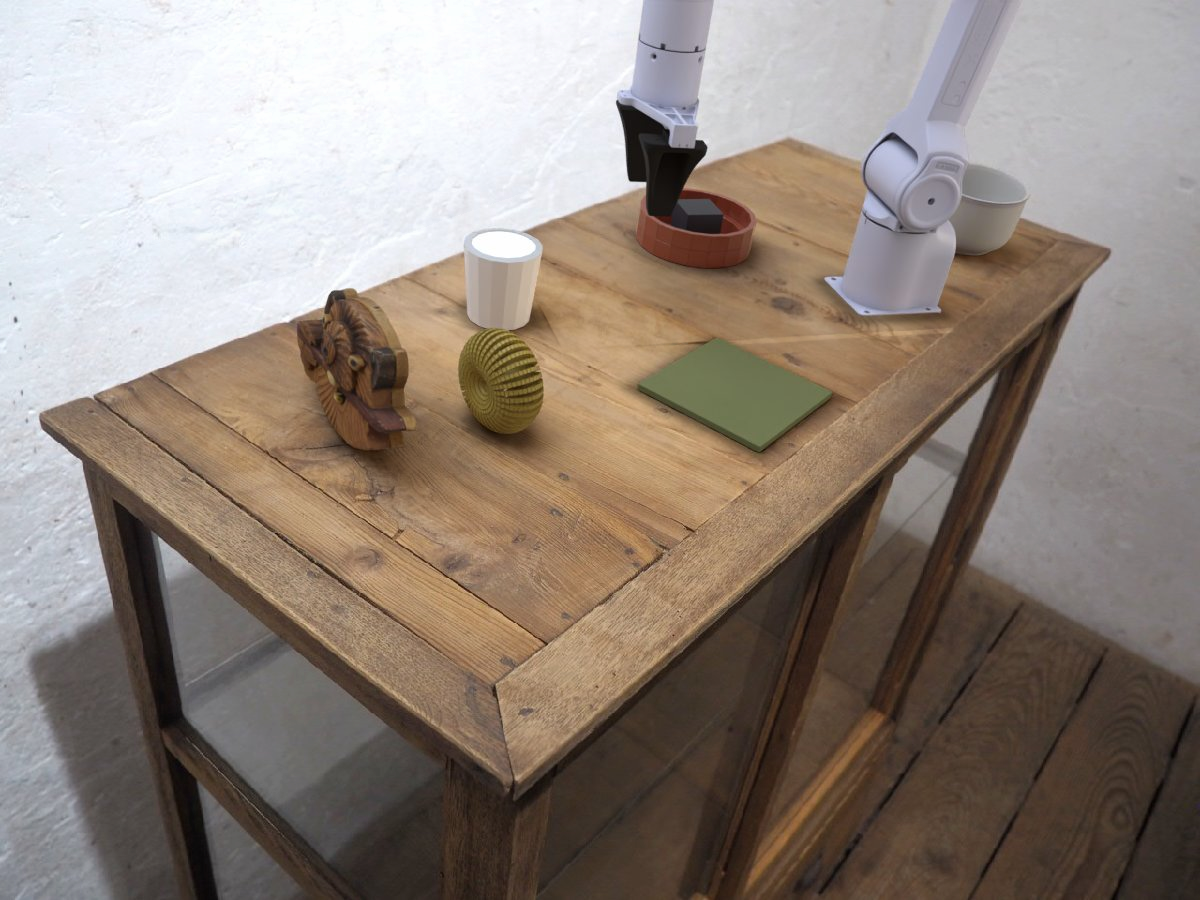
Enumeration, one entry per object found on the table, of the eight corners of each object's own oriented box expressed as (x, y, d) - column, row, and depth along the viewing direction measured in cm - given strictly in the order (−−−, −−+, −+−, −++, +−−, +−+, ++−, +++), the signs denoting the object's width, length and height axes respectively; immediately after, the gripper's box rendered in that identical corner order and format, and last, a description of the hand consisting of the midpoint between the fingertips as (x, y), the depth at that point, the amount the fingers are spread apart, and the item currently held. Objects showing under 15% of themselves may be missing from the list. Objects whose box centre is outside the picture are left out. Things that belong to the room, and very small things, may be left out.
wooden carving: (276, 381, 82) (267, 264, 76) (330, 367, 84) (326, 253, 79) (378, 496, 72) (377, 372, 66) (436, 477, 74) (440, 355, 69)
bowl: (722, 221, 118) (728, 187, 116) (767, 270, 109) (775, 235, 107) (620, 223, 115) (624, 188, 112) (657, 274, 105) (664, 237, 103)
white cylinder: (525, 340, 91) (532, 267, 87) (450, 324, 92) (453, 251, 88) (544, 305, 97) (551, 235, 93) (473, 291, 98) (477, 221, 94)
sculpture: (446, 407, 82) (449, 316, 77) (488, 393, 84) (494, 304, 79) (506, 460, 77) (513, 367, 72) (549, 443, 79) (559, 352, 75)
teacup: (1017, 245, 123) (1041, 180, 118) (992, 275, 115) (1018, 206, 110) (904, 209, 128) (923, 145, 124) (873, 235, 120) (893, 167, 116)
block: (702, 233, 114) (709, 198, 111) (717, 249, 111) (724, 214, 108) (668, 234, 112) (674, 198, 110) (681, 250, 109) (688, 214, 107)
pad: (715, 342, 95) (716, 336, 95) (831, 397, 90) (833, 391, 89) (636, 389, 87) (637, 383, 87) (758, 453, 82) (760, 446, 81)
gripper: (607, 16, 92) (590, 165, 100) (646, 66, 81) (623, 230, 89) (684, 21, 94) (661, 168, 102) (732, 71, 83) (702, 232, 90)
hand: (648, 197), depth 95 cm, fingers open, 7 cm apart
